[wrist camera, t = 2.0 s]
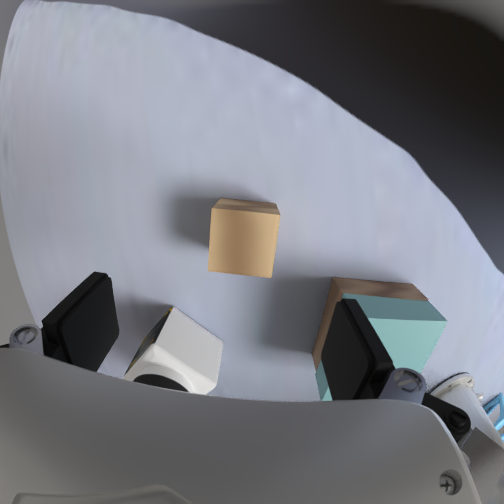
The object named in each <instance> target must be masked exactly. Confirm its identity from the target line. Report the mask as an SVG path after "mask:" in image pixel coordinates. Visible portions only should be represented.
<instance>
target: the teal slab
mask: <svg viewBox="0 0 504 504" xmlns="http://www.w3.org/2000/svg"><path fill="white" fill-rule="evenodd" d="M342 298H348V299H356V300H357V302H358V303H359V305H360V306H361V308H362V310H363V311H364V313H365V315H366V316H367V318H368V319H369V321H370V323H371V324H372V326H373V328H374V329H375V331H376V333H377V335H378V336H379V338H380V340H381V341H382V343H383V345H384V347H385V348H386V350H387V352H388V353H389V355H390V357H391V359H392V361H393V365H394V366H395V368H396V369H397V368H402V367H403V368H410V369H413V370H415V371H417V372H418V373H419V374H420V373H421V371H422V369H423V368H424V366H425V364H426V362H427V360H428V359H429V357H430V355H431V353H432V351H433V349H434V348H435V346H436V344H437V342H438V340H439V338H440V336H441V334H442V332H443V330H444V328H445V325H446V323H447V320H446V319H445V318H444V317H443V316H442V315H441V314H440V313H439V312H438V311H437V310H436V309H435V307H434V306H433V305H432V304H431V303H430V302H429V301H423V300H410V299H399V298H388V297H377V296H366V295H356V294H347V293H343V296H342ZM315 375H316V380H317V384H318V389H319V393H320V398H321V401H332V397H331V393H330V390H329V386H328V382H327V379H326V375H325V372H324V368H323V365H322V361H320V364H319V366H318V369H317V371H316V374H315Z"/></svg>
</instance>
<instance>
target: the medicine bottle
mask: <svg viewBox="0 0 504 504" xmlns="http://www.w3.org/2000/svg"><path fill="white" fill-rule="evenodd" d="M222 350H223V341H222V340H220V339H219V338H217V337H216V336H214V335H213V334H211V333H210V332H209V331H207V330H206V329H204V328H203V327H202V326H200V325H199V324H197V323H196V322H195V321H193V320H192V319H190V318H189V317H188V316H186V315H185V314H184V313H182V312H181V311H180V310H178V309H177V308H176V307H171V308H170V309H169V310H168V311H167V313H166V314H165V315H164V316H163V317H162V318H161V320H160V321H159V322H158V323H157V324H156V326H155V327H154V328H153V329H152V330H151V332H150V333H149V334H148V335H147V337H146V338H145V339H144V340H143V342H142V344H141V346H140V347H139V349H138V351H137V353H136V355H135V357H134V358H133V360H132V362H131V364H130V366H129V368H128V370H127V371H126V373H125V375H124V380H128V381H132V382H137V383H141V384H146V385H151V386H156V387H161V388H166V389H172V390H178V391H184V392H190V393H197V394H204V395H205V394H207V393H208V392H209V391H211V390H212V389H213V388H215V387H216V385H217V379H218V374H219V368H220V362H221V356H222Z"/></svg>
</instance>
